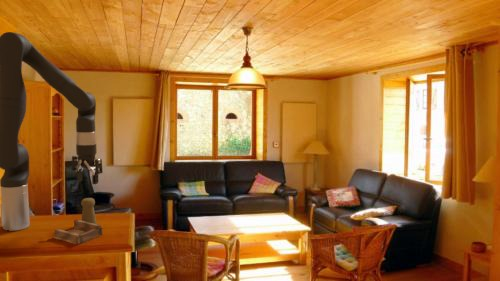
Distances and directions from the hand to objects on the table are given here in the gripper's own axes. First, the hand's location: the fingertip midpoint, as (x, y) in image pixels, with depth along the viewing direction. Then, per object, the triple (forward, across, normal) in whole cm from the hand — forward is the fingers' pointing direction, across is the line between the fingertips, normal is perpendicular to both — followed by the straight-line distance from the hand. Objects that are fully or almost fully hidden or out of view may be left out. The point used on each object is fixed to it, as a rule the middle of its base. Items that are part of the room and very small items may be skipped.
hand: (87, 182), depth 164 cm
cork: (+18, 0, 0) cm, 18 cm away
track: (+18, +6, -11) cm, 22 cm away
